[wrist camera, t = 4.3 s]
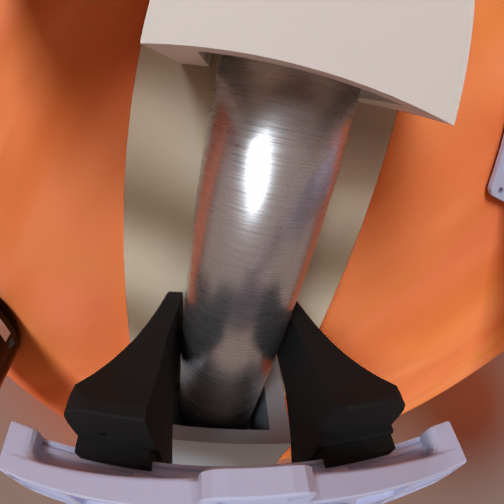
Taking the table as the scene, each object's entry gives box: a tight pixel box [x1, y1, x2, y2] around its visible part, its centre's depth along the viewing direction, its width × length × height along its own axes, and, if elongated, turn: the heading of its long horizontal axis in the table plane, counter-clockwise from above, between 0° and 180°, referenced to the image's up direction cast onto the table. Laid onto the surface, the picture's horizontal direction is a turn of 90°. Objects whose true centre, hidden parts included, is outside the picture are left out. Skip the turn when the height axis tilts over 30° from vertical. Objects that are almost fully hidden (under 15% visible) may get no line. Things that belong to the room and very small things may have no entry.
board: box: [124, 44, 398, 398], centre depth 13 cm, size 27×10×1 cm, turn 169°
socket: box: [172, 360, 291, 466], centre depth 15 cm, size 5×7×5 cm
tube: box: [178, 54, 361, 430], centre depth 11 cm, size 19×4×4 cm, turn 169°
